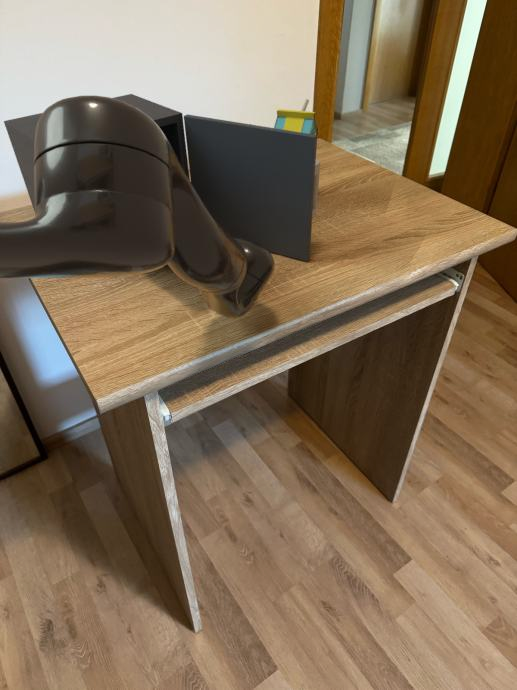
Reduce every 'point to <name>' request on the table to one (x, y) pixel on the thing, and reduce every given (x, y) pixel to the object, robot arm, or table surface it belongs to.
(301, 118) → the carton
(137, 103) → the cupboard
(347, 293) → the table surface
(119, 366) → the table surface
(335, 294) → the table surface
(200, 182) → the cupboard door
